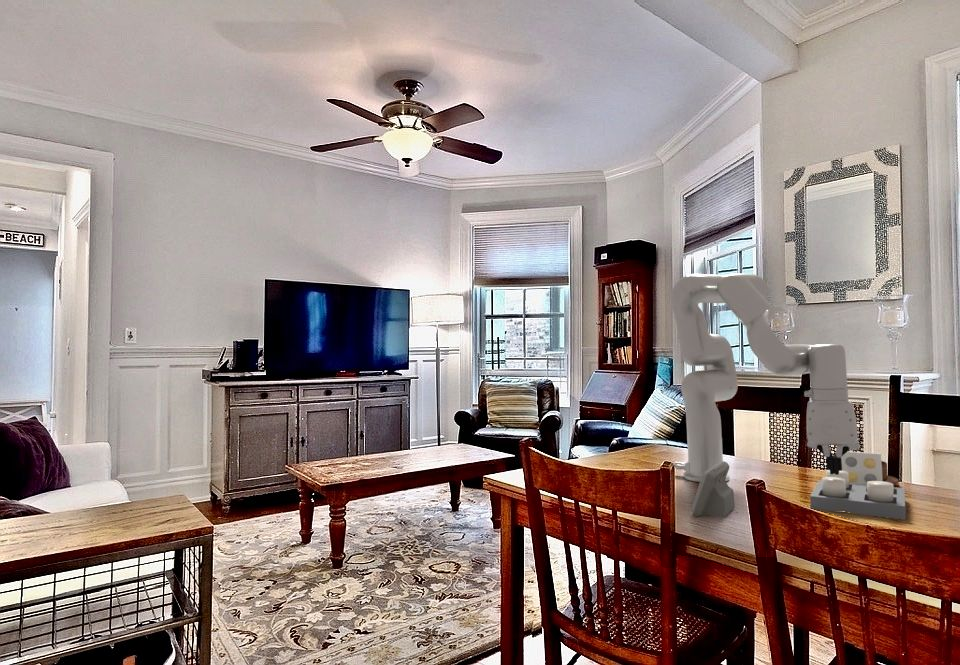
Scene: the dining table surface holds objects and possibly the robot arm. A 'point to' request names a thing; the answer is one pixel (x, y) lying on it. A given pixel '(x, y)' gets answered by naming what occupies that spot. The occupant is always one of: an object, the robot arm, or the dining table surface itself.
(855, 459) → the card
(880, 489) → the button
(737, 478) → the dining table surface
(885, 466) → the cup and saucer
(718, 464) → the grey slanted panel stand
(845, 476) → the button
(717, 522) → the dining table surface
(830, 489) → the button
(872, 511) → the button board
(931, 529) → the dining table surface
